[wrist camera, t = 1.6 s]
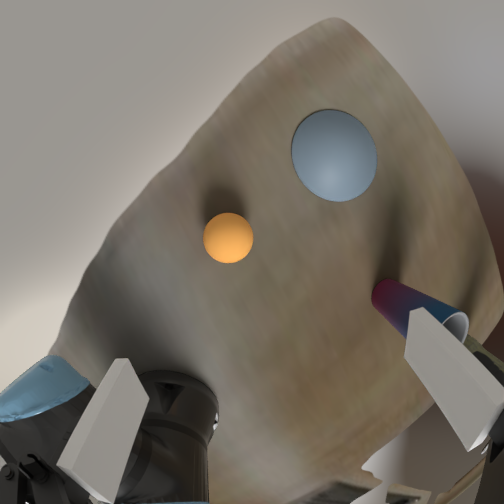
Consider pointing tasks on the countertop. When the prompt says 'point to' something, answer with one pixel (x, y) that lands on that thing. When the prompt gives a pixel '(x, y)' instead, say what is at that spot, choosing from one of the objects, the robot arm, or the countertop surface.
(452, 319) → the cup
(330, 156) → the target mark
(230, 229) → the ball
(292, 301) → the countertop surface
